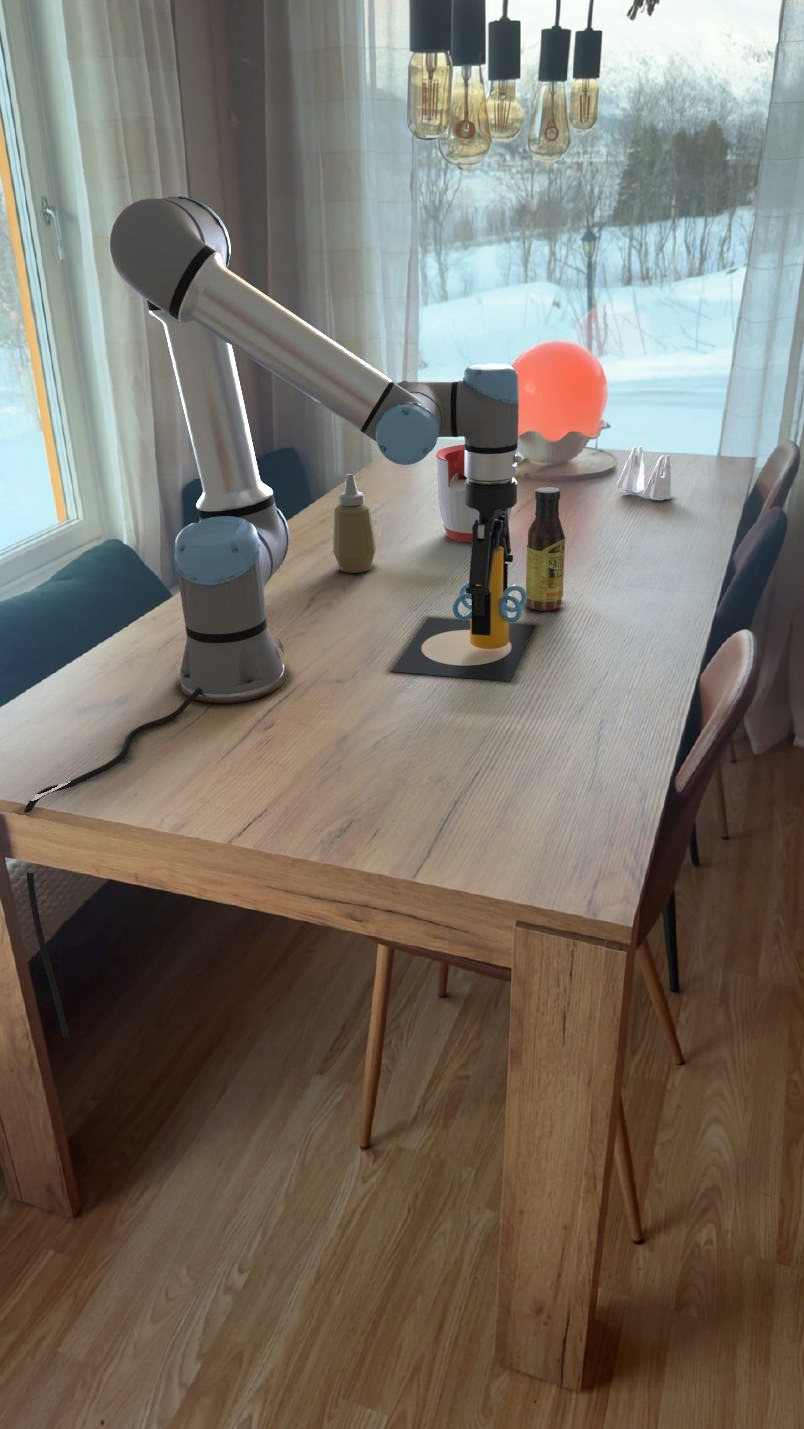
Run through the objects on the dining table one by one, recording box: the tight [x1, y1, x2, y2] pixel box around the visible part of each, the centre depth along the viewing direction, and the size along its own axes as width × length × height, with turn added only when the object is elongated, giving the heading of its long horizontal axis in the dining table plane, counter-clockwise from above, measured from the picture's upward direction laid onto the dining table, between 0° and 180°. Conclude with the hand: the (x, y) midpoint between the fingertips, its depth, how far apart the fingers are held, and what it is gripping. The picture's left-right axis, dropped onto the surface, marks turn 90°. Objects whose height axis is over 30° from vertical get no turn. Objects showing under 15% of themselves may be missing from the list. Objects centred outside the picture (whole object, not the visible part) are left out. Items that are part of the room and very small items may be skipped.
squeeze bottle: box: [332, 473, 377, 574], centre depth 196 cm, size 8×8×18 cm
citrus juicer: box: [435, 444, 513, 543], centre depth 210 cm, size 16×17×20 cm
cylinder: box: [452, 546, 527, 649], centre depth 159 cm, size 12×10×15 cm
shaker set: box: [616, 445, 672, 501], centre depth 234 cm, size 12×4×11 cm, turn 50°
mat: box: [390, 617, 536, 683], centre depth 164 cm, size 22×18×1 cm
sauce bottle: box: [525, 486, 566, 612], centre depth 175 cm, size 6×6×20 cm
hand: (490, 618), depth 161 cm, fingers closed on cylinder, 12 cm apart
